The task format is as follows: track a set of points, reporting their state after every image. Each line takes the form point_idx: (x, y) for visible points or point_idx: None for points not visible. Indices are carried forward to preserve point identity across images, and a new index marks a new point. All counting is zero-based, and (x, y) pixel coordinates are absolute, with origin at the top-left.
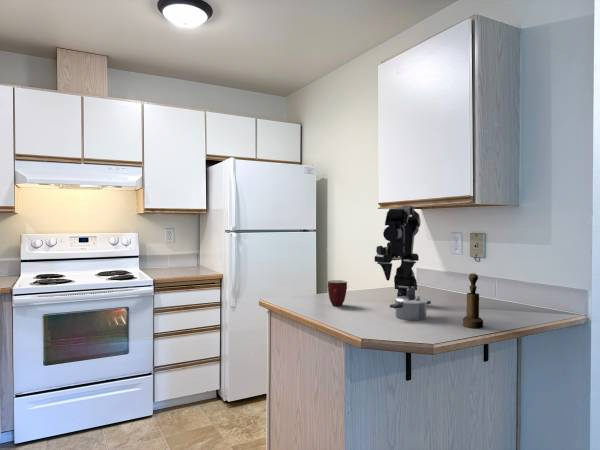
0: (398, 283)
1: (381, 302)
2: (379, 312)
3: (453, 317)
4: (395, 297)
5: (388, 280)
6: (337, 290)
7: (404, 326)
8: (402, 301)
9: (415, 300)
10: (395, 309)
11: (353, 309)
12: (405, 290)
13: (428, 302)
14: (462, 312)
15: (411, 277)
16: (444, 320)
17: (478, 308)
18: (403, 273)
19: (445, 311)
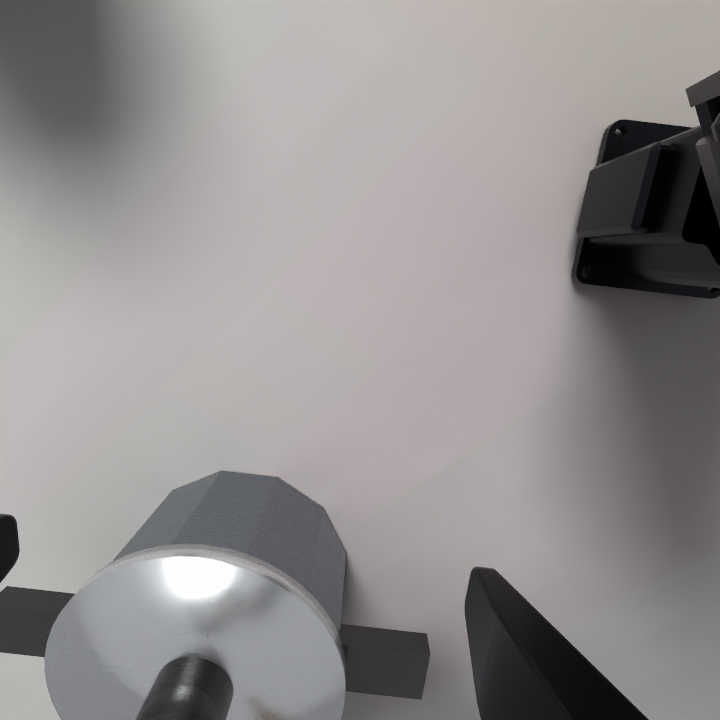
0: (706, 182)
1: (521, 6)
2: (157, 340)
3: (471, 704)
4: (107, 575)
5: (3, 553)
6: None
7: (35, 670)
8: (56, 694)
9: None
10: (145, 523)
11: (26, 110)
12: (709, 255)
13: (392, 687)
14: (664, 667)
15: None
16: (353, 713)
17: None
18: (512, 645)
19: (606, 592)
